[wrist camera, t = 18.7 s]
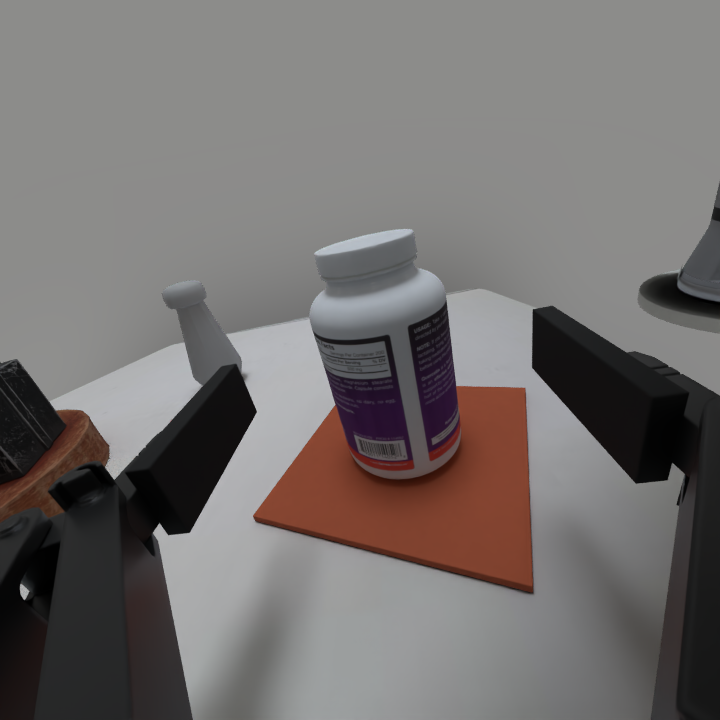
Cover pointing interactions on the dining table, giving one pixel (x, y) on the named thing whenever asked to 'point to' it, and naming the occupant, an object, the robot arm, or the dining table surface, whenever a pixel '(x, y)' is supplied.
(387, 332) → the pill bottle
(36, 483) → the decorative object
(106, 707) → the robot arm
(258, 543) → the dining table surface
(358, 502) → the terracotta mat
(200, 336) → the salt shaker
